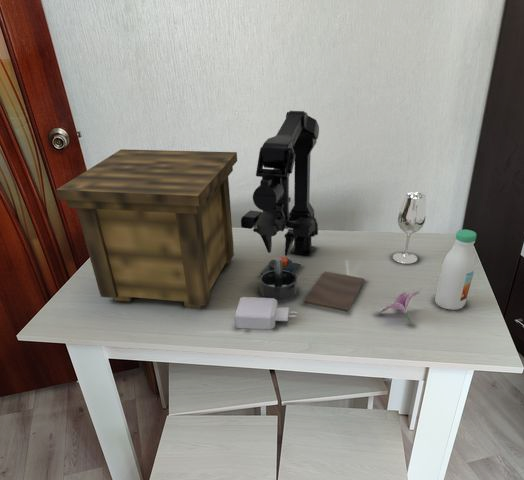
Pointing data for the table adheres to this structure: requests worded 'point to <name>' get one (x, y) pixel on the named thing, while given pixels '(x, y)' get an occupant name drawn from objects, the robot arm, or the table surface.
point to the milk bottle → (457, 272)
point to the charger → (260, 313)
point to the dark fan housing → (278, 292)
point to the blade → (278, 272)
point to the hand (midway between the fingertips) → (278, 253)
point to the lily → (401, 302)
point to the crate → (156, 222)
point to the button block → (290, 267)
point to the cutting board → (335, 291)
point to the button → (284, 261)
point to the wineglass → (411, 222)
